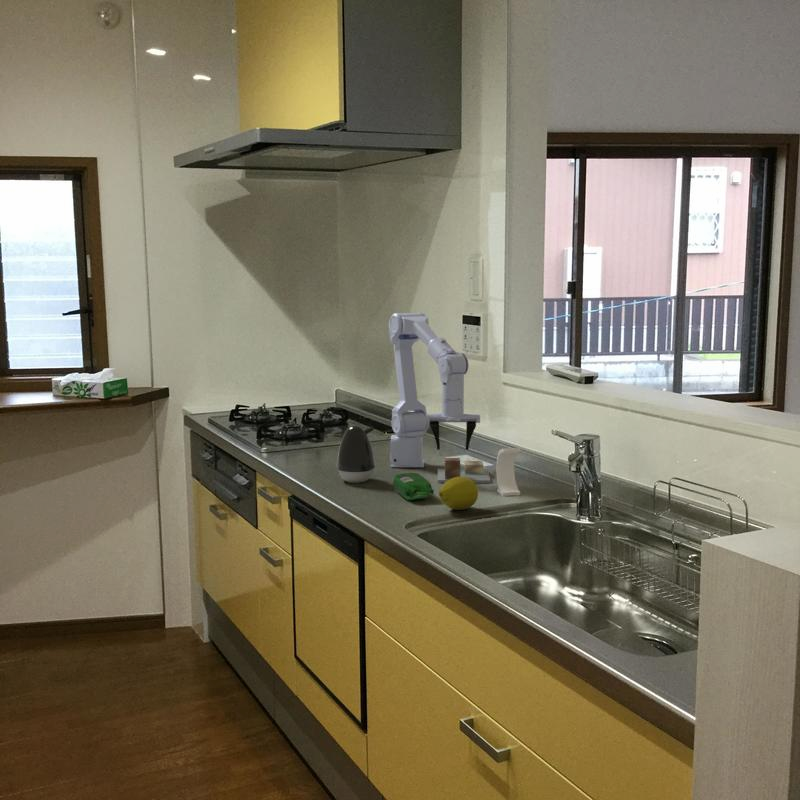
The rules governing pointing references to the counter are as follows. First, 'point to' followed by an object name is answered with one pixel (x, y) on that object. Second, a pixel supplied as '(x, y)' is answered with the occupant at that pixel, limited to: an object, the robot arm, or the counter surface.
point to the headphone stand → (506, 472)
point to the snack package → (412, 486)
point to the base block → (473, 467)
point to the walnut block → (452, 468)
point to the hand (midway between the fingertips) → (452, 448)
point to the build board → (474, 477)
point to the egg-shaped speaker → (355, 455)
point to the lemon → (459, 493)
